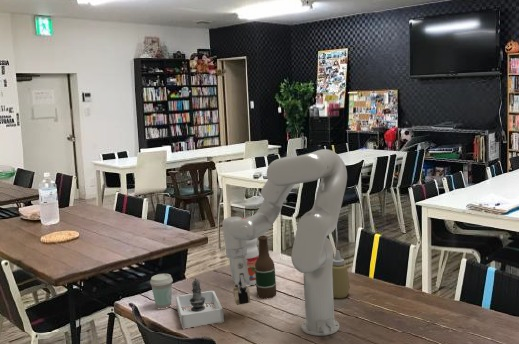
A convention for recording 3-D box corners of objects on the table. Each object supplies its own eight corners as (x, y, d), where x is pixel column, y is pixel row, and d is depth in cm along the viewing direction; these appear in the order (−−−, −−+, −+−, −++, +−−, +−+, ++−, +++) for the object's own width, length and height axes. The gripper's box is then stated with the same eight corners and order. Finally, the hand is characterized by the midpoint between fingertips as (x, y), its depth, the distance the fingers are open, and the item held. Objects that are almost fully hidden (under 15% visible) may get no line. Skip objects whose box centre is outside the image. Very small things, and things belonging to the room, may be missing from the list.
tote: (223, 322, 188) (222, 308, 187) (182, 329, 184) (181, 315, 184) (214, 302, 207) (213, 290, 206) (177, 308, 203) (175, 296, 203)
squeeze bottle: (344, 301, 200) (341, 254, 197) (325, 297, 205) (323, 252, 202) (354, 294, 206) (352, 249, 204) (335, 290, 211) (333, 246, 209)
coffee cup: (170, 311, 201) (167, 280, 200) (149, 310, 203) (146, 280, 201) (178, 302, 209) (175, 273, 208) (157, 302, 211) (154, 273, 210)
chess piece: (207, 305, 202) (205, 275, 201) (203, 312, 197) (200, 280, 195) (193, 305, 204) (190, 275, 202) (188, 311, 198) (185, 280, 196)
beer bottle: (277, 291, 214) (273, 233, 211) (275, 298, 207) (271, 238, 203) (257, 292, 215) (253, 234, 212) (255, 299, 207) (251, 239, 204)
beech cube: (250, 302, 190) (249, 289, 189) (236, 305, 189) (235, 291, 188) (247, 298, 195) (246, 285, 194) (234, 300, 194) (232, 287, 193)
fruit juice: (263, 279, 229) (259, 216, 225) (256, 287, 220) (251, 221, 217) (243, 278, 232) (238, 215, 229) (235, 285, 224) (230, 221, 220)
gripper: (252, 255, 182) (258, 306, 184) (241, 244, 199) (247, 291, 201) (230, 259, 181) (236, 310, 183) (221, 248, 197) (227, 295, 199)
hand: (242, 300), depth 192 cm, fingers closed on beech cube, 5 cm apart
